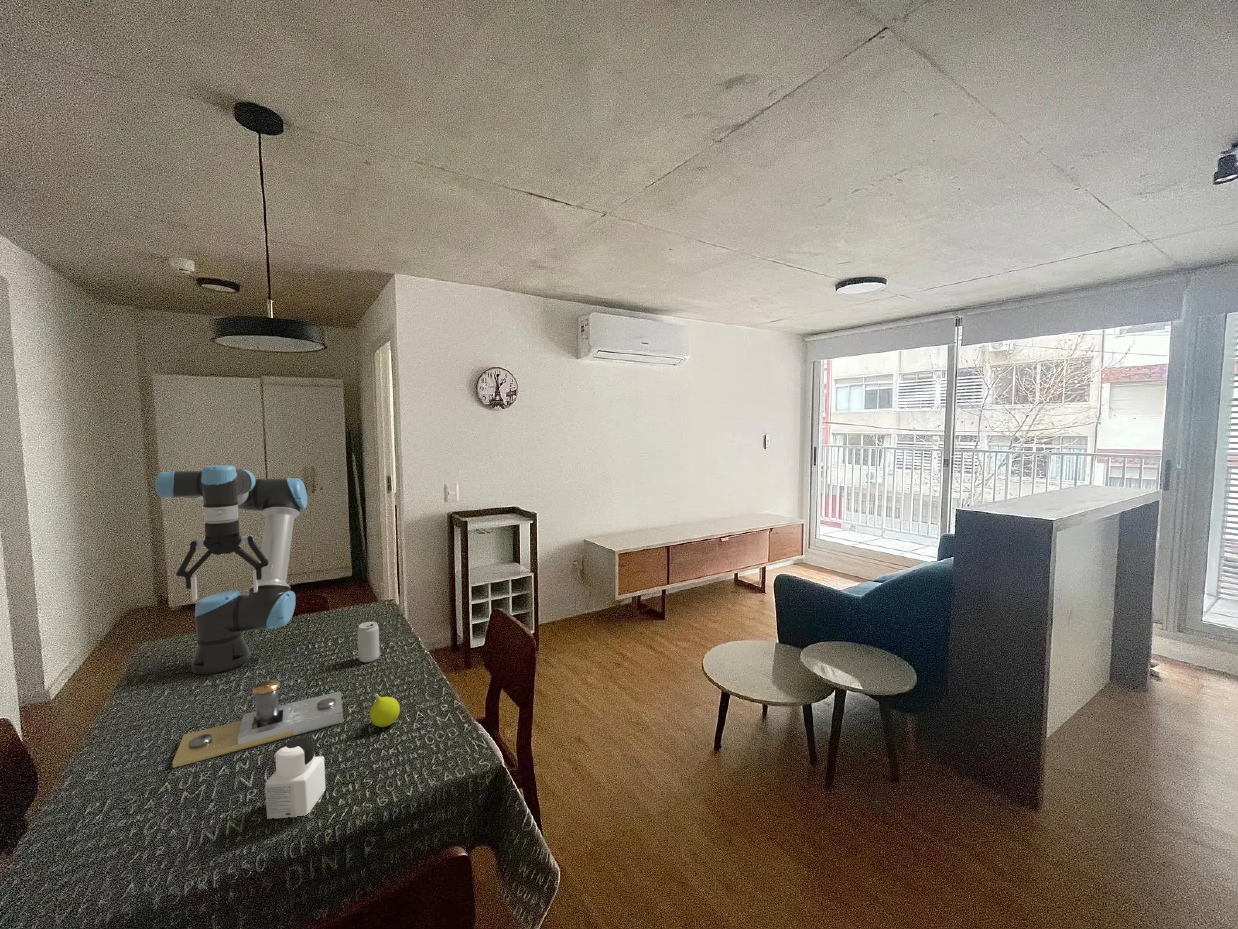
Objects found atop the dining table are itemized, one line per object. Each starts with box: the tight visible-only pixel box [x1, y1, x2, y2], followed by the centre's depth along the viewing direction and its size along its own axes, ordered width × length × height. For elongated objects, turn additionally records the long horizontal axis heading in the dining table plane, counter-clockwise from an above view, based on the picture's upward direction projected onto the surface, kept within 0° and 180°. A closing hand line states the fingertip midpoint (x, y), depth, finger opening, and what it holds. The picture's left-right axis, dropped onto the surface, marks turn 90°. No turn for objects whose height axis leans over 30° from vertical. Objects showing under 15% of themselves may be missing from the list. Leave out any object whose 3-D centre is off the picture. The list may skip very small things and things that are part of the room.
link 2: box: [238, 690, 344, 744], centre depth 131 cm, size 12×22×4 cm, turn 122°
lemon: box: [369, 693, 401, 728], centre depth 131 cm, size 7×7×10 cm
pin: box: [252, 679, 280, 728], centre depth 128 cm, size 6×6×12 cm
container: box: [265, 736, 326, 820], centre depth 103 cm, size 8×8×13 cm
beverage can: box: [356, 621, 381, 663], centre depth 168 cm, size 6×6×12 cm
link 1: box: [172, 715, 295, 768], centre depth 125 cm, size 12×23×2 cm, turn 122°
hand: (226, 595), depth 141 cm, fingers open, 13 cm apart
